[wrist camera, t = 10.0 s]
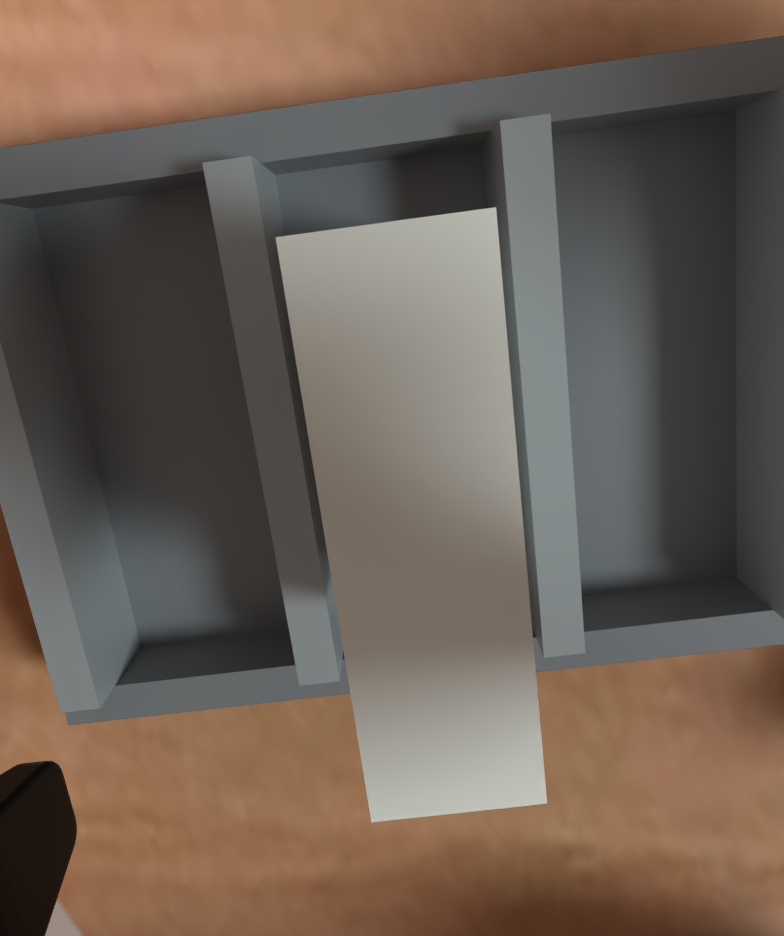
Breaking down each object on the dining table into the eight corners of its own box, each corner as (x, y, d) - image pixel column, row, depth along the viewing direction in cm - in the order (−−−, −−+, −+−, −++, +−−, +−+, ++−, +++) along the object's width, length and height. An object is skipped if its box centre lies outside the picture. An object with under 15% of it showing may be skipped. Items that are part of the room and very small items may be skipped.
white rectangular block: (439, 241, 18) (495, 207, 8) (472, 543, 20) (547, 803, 10) (339, 255, 18) (275, 236, 8) (382, 554, 20) (371, 822, 10)
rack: (778, 66, 17) (887, 8, 14) (772, 588, 21) (856, 659, 17) (-16, 179, 18) (-127, 153, 14) (111, 665, 22) (51, 749, 18)
